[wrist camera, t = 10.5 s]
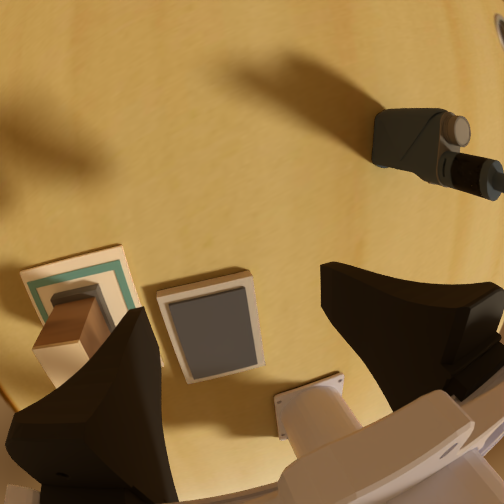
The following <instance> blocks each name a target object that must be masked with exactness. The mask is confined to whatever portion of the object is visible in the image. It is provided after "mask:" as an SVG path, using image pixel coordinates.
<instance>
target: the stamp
mask: <svg viewBox="0 0 504 504" xmlns="http://www.w3.org/2000/svg"><path fill="white" fill-rule="evenodd" d="M50 301H51V303H52V306H53V310H52V312H51V314H50V316H49V317H48V319H47V321H46V323H45V325H44V327H43V329H42V330H41V332H40V334H39V336H38V338H37V340H36V342H35V344H34V346H33V348H32V351H33V353H34V354H35V356H36V358H37V359H38V361H39V363H40V364H41V366H42V368H43V369H44V371H45V372H46V374H47V375H48V377H49V378H50V380H51V381H52V383H53V384H54V386H55V387H56V389H57V388H58V387H60V386H61V385H62V384H63V383H64V382H66V381H67V380H68V379H69V378H70V377H72V376H73V375H74V374H75V373H76V372H77V371H78V370H80V369H81V368H82V367H83V366H84V365H85V364H86V363H87V362H88V360H89V359H90V358H91V357H92V356H93V355H94V354H95V353H96V351H97V350H98V349H99V348H100V347H101V345H102V344H103V343H104V342H105V341H106V339H107V338H108V337H109V335H110V334H111V333H112V331H113V330H114V329H115V327H116V326H115V324H114V321H113V319H112V317H111V314H110V312H109V309H108V307H107V304H106V302H105V299H104V296H103V294H102V291H101V288H100V286H99V283H98V284H94V285H89V286H85V287H80V288H76V289H71V290H67V291H63V292H58V293H54V294H53V296H52V297H51V299H50Z"/></svg>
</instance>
